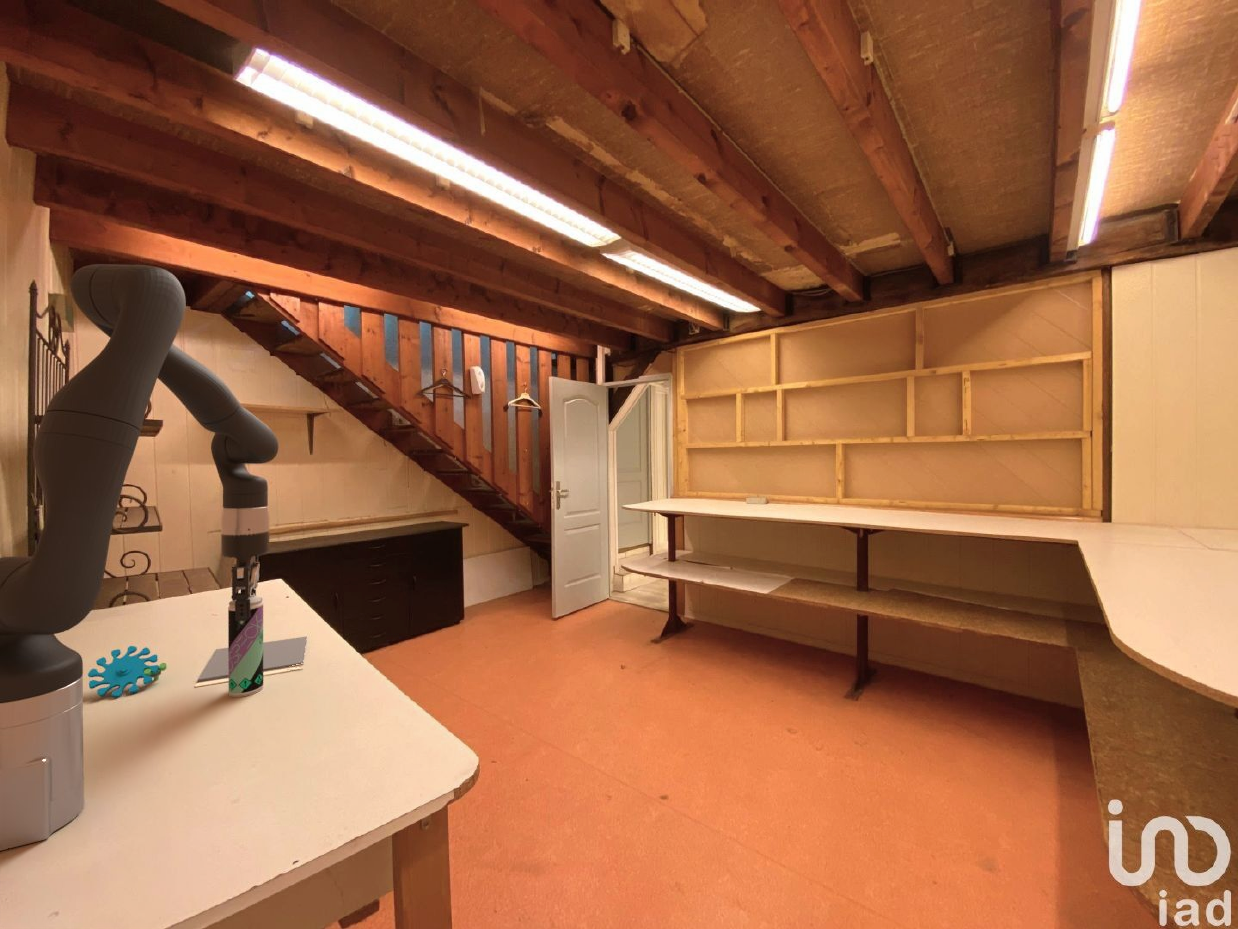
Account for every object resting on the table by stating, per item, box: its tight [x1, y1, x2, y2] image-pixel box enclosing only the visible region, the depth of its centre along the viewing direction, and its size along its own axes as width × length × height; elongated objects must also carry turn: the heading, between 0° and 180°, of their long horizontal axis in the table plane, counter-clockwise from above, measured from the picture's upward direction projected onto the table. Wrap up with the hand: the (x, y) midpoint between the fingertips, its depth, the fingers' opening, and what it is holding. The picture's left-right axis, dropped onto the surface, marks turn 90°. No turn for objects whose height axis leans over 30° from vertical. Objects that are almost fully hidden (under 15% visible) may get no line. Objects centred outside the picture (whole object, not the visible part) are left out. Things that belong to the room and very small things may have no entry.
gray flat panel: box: [194, 636, 308, 688], centre depth 113 cm, size 21×18×1 cm
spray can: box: [227, 589, 264, 698], centre depth 98 cm, size 6×6×20 cm
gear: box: [87, 645, 168, 698], centre depth 100 cm, size 11×6×10 cm
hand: (246, 614), depth 98 cm, fingers open, 7 cm apart
